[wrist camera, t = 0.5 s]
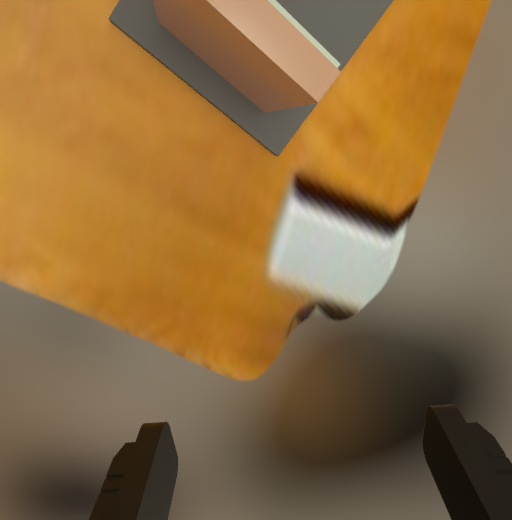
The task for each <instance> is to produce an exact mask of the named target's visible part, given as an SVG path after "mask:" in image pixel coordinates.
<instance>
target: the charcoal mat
mask: <svg viewBox="0 0 512 520" xmlns="http://www.w3.org/2000/svg"><path fill="white" fill-rule="evenodd" d="M276 1H277V2H278V3H279V4H280V5H281V6H282V7H283V8H284V9H285V10H286V11H287V12H288V13H289V14H290V15H291V16H292V17H293V18H294V19H295V20H296V21H297V22H298V23H299V24H300V25H301V26H302V27H303V28H304V29H305V30H306V31H307V32H308V33H310V34H311V35H312V36H313V37H314V38H315V39H316V40H317V41H318V42H319V43H320V44H321V45H322V46H323V47H324V48H325V49H326V50H327V51H328V52H329V53H330V54H331V55H332V56H333V57H334V58H335V59H336V60H337V61H338V62H339V63H340V66H339V67H338V69H339V70H340V71H341V70H342V69H343V68H344V66H345V65H346V64H347V62H348V61H349V60H350V58H351V57H352V56H353V54H354V53H355V51H356V50H357V49H358V47H359V46H360V45H361V43H362V42H363V41H364V39H365V38H366V37H367V35H368V34H369V33H370V31H371V30H372V28H373V27H374V26H375V24H376V23H377V22H378V20H379V19H380V18H381V16H382V15H383V14H384V12H385V11H386V10H387V8H388V7H389V5H390V4H391V3H392V1H393V0H276ZM109 20H110V21H111V22H112V23H113V24H114V25H116V26H117V27H118V28H119V29H120V30H122V31H123V32H124V33H125V34H127V35H128V36H129V37H130V38H132V39H133V40H134V41H135V42H136V43H138V44H139V45H140V46H141V47H143V48H144V49H145V50H146V51H148V52H149V53H150V54H151V55H152V56H154V57H155V58H156V59H157V60H159V61H160V62H161V63H162V64H164V65H165V66H166V67H167V68H168V69H170V70H171V71H172V72H173V73H175V74H176V75H177V76H178V77H180V78H181V79H182V80H183V81H184V82H186V83H187V84H188V85H189V86H191V87H192V88H193V89H194V90H196V91H197V92H198V93H199V94H200V95H202V96H203V97H204V98H205V99H207V100H208V101H209V102H210V103H212V104H213V105H214V106H215V107H216V108H218V109H219V110H220V111H221V112H223V113H224V114H225V115H226V116H228V117H229V118H230V119H231V120H232V121H234V122H235V123H236V124H237V125H239V126H240V127H241V128H242V129H244V130H245V131H246V132H247V133H248V134H250V135H251V136H252V137H253V138H255V139H256V140H257V141H258V142H260V143H261V144H262V145H263V146H264V147H266V148H267V149H268V150H269V151H271V152H272V153H273V154H274V155H276V156H279V154H280V153H281V152H282V150H283V149H284V148H285V146H286V145H287V143H288V142H289V141H290V139H291V138H292V137H293V135H294V134H295V133H296V131H297V130H298V129H299V127H300V126H301V125H302V123H303V122H304V120H305V119H306V118H307V116H308V115H309V114H310V112H311V111H312V110H313V108H314V107H315V106H316V104H317V103H314V104H309V105H303V106H298V107H293V108H288V109H283V110H277V111H272V112H267V113H264V112H263V111H262V110H260V109H259V108H258V107H257V106H256V105H255V104H253V103H252V102H251V101H250V100H249V99H247V98H246V97H245V96H244V95H243V94H242V93H240V92H239V91H238V90H237V89H236V88H235V87H233V86H232V85H231V84H230V83H229V82H227V81H226V80H225V79H224V78H223V77H222V76H220V75H219V74H218V73H217V72H216V71H215V70H213V69H212V68H211V67H210V66H209V65H207V64H206V63H205V62H204V61H203V60H202V59H200V58H199V57H198V56H197V55H196V54H194V53H193V52H192V51H191V50H190V49H189V48H187V47H186V46H185V45H184V44H183V43H182V42H180V41H179V40H178V39H177V38H176V37H174V36H173V35H172V34H171V33H170V32H169V31H167V30H166V29H165V28H164V27H163V26H162V25H160V24H159V21H158V17H157V14H156V10H155V7H154V3H153V0H119V2H118V4H117V5H116V7H115V9H114V10H113V12H112V14H111V15H110V17H109Z"/></svg>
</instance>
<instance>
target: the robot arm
mask: <svg viewBox="0 0 512 520" xmlns="http://www.w3.org/2000/svg"><path fill="white" fill-rule="evenodd" d="M423 451H424V455H425V458H426V462H427V464H428V467H429V468H430V471H431V473H432V476H433V478H434V480H435V483H436V485H437V487H438V490H439V492H440V494H441V497H442V499H443V501H444V503H445V506H446V508H447V510H448V513H449V515H450V517H451V520H512V463H511V462H510V460H509V459H508V458H506V455H505V453H504V451H503V450H502V448H501V447H500V445H499V444H498V442H497V441H496V439H495V437H494V436H492V435H491V434H490V433H489V432H488V431H487V430H485V429H484V428H483V427H482V426H481V425H480V424H478V423H477V422H476V423H466V421H465V419H464V418H463V416H462V414H461V413H460V411H459V410H458V408H457V407H456V406H455V405H440V406H428V407H427V409H426V416H425V424H424V432H423ZM177 471H178V456H177V452H176V449H175V444H174V441H173V437H172V434H171V430H170V426H169V424H168V423H167V422H160V423H144V424H143V425H142V426H141V428H140V431H139V434H138V437H137V439H136V442H132V443H125V445H124V446H123V447H122V448H121V449H120V451H119V452H118V453H117V454H116V456H115V457H114V458H113V460H112V463H111V465H110V468H109V470H108V473H107V478H106V479H105V481H104V483H103V486H102V488H101V493H100V494H99V496H98V498H97V501H96V503H95V506H94V508H93V511H92V514H91V516H90V518H89V520H168V515H169V510H170V505H171V501H172V497H173V492H174V487H175V483H176V478H177Z"/></svg>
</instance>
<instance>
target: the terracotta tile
mask: <svg viewBox="0 0 512 520" xmlns="http://www.w3.org/2000/svg"><path fill="white" fill-rule="evenodd" d="M153 3H154V7H155V10H156V14H157V17H158V21H159V24H160V25H162V26H163V27H164V28H165V29H166V30H167V31H169V32H170V33H171V34H172V35H173V36H174V37H176V38H177V39H178V40H179V41H180V42H182V43H183V44H184V45H185V46H186V47H187V48H189V49H190V50H191V51H192V52H193V53H194V54H196V55H197V56H198V57H199V58H200V59H202V60H203V61H204V62H205V63H206V64H207V65H209V66H210V67H211V68H212V69H213V70H215V71H216V72H217V73H218V74H219V75H220V76H222V77H223V78H224V79H225V80H226V81H227V82H229V83H230V84H231V85H232V86H233V87H235V88H236V89H237V90H238V91H239V92H240V93H242V94H243V95H244V96H245V97H246V98H247V99H249V100H250V101H251V102H252V103H253V104H255V105H256V106H257V107H258V108H259V109H260V110H262V111H263V112H264V113H267V112H272V111H277V110H283V109H288V108H293V107H298V106H303V105H309V104H314V103H318V102H319V101H320V100H321V98H322V97H323V96H324V94H325V93H326V92H327V90H328V89H329V88H330V86H331V85H332V84H333V82H334V81H335V79H336V78H337V77H338V75H339V74H340V73H341V71H340V70H339V69H338V67H339V66H340V63H339V62H338V61H337V60H336V59H335V58H334V57H333V56H332V55H331V54H330V53H329V52H328V51H327V50H326V49H325V48H324V47H323V46H322V45H321V44H320V43H319V42H318V41H317V40H316V39H315V38H314V37H313V36H312V35H311V34H310V33H308V32H307V31H306V30H305V29H304V28H303V27H302V26H301V25H300V24H299V23H298V22H297V21H296V20H295V19H294V18H293V17H292V16H291V15H290V14H289V13H288V12H287V11H286V10H285V9H284V8H283V7H282V6H281V5H280V4H279V3H278V2H277V1H276V0H153Z"/></svg>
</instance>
